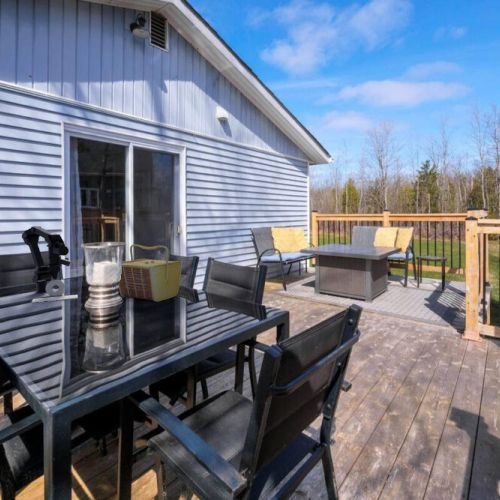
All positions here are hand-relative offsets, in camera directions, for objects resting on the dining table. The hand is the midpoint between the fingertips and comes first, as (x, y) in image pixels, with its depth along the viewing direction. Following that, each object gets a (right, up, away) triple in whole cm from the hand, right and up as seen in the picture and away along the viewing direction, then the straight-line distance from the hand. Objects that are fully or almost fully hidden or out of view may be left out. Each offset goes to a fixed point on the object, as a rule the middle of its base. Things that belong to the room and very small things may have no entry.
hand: (55, 280), depth 200 cm
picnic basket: (+58, -9, -5) cm, 58 cm away
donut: (+3, -9, -4) cm, 10 cm away
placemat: (+6, -9, -11) cm, 15 cm away
